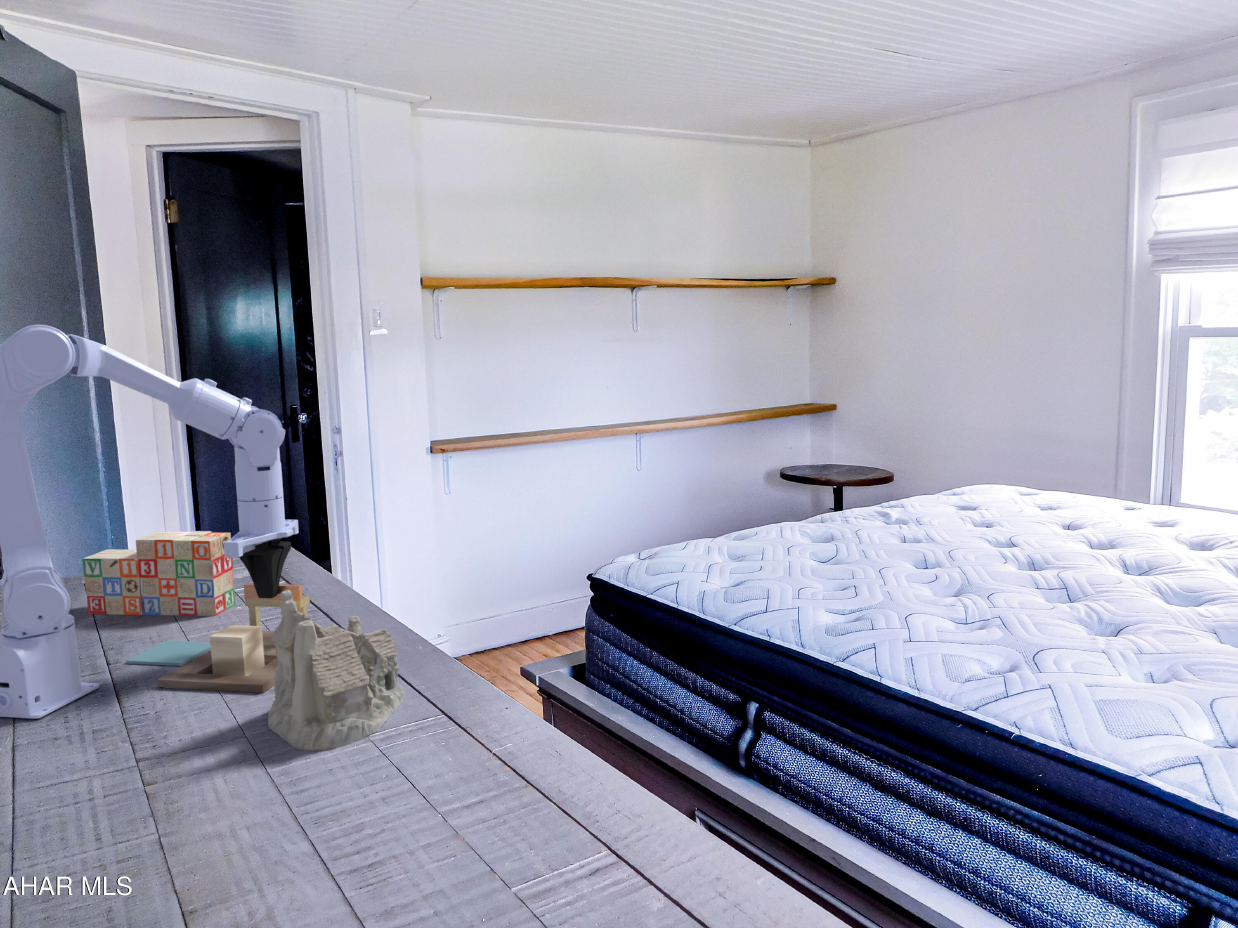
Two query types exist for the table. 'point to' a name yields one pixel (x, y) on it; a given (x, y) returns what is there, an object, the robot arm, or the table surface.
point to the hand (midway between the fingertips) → (267, 596)
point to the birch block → (237, 650)
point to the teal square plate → (171, 653)
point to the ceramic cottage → (331, 681)
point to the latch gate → (272, 600)
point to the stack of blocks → (162, 576)
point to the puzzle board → (199, 677)
